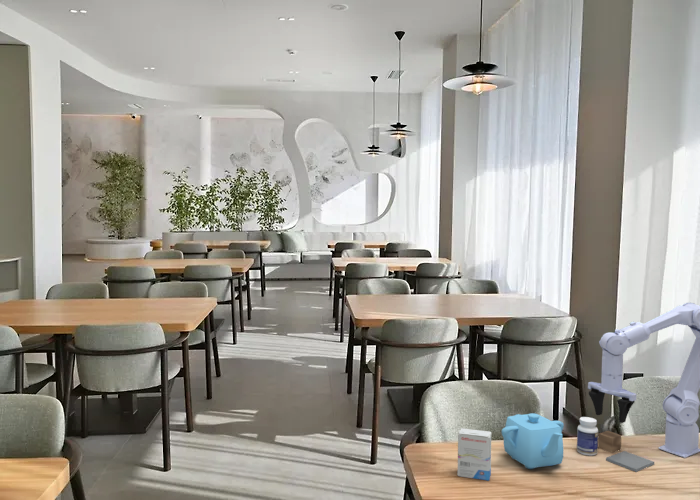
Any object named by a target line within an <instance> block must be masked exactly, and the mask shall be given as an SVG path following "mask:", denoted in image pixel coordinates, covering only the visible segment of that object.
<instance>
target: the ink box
mask: <svg viewBox="0 0 700 500" xmlns="http://www.w3.org/2000/svg"><path fill="white" fill-rule="evenodd" d="M491 474H492V431H488V430H487V431H486V430H479V429H471V428H462V427H460V428H459V431H458V434H457V476H458V477H462V478H469V479H476V480H483V481H487V482H488V481H491V480H490V479H491Z"/></svg>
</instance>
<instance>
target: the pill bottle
mask: <svg viewBox="0 0 700 500" xmlns="http://www.w3.org/2000/svg"><path fill="white" fill-rule="evenodd" d="M597 424H598V421H597V419H596V418H593V417H588V416H581V417H580V418H579V424H578V426H577V429H576V430H577V433H576V434H577V435H576V436H577V437H576V451H577V452H578V453H579V454H580V455H583V456H588V457H589V456H590V457H591V456H592V457H593V456H595V455H597V454H598V449H599V448H598V436H599V429H598V427H597Z"/></svg>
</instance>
